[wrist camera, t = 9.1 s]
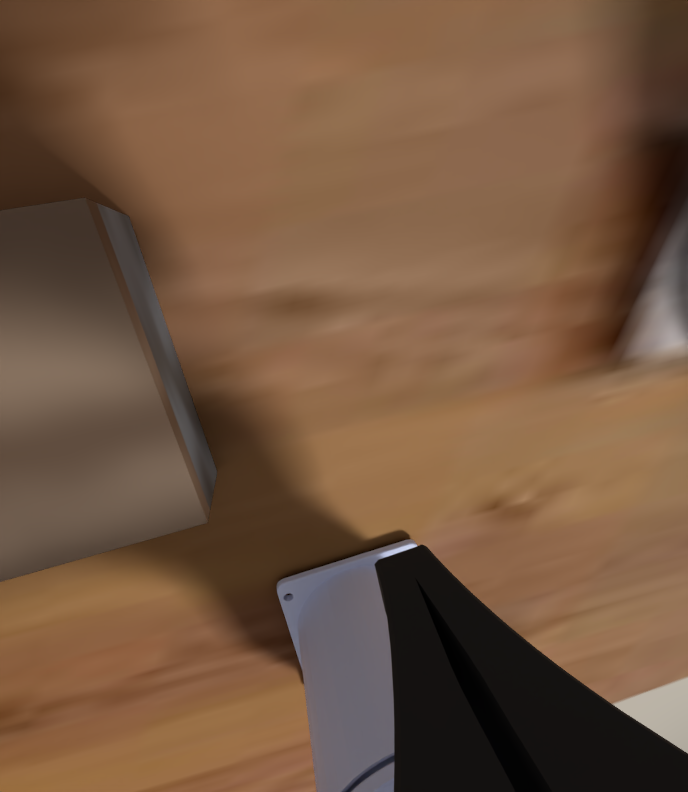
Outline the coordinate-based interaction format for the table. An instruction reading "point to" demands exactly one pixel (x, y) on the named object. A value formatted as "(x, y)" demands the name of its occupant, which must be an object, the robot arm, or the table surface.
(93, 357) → the brown grey rectangular block
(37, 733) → the table surface
